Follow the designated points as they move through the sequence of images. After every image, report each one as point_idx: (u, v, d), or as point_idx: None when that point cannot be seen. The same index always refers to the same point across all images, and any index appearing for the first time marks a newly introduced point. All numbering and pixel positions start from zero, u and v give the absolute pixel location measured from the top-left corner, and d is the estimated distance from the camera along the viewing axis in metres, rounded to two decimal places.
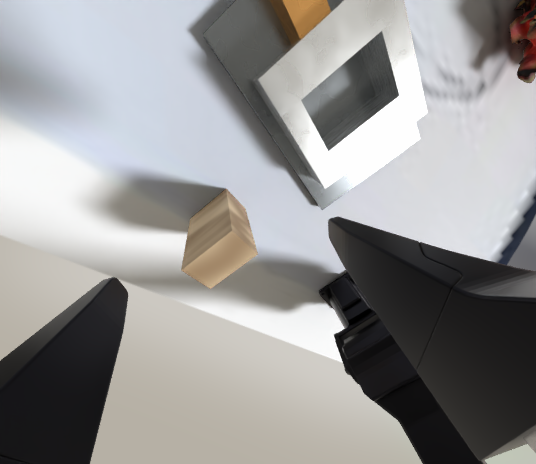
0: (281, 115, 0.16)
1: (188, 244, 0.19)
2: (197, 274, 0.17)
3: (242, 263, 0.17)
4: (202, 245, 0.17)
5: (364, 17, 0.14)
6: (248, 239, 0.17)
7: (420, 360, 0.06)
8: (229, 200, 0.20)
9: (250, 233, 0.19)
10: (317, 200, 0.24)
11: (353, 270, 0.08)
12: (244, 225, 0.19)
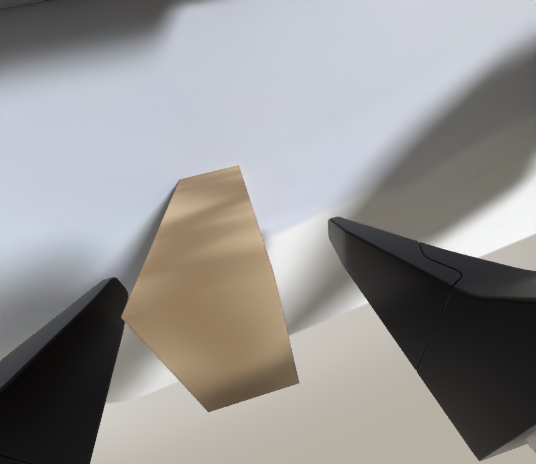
0: None
1: None
2: (240, 395, 0.07)
3: (277, 319, 0.05)
4: None
5: None
6: (226, 253, 0.05)
7: (420, 360, 0.06)
8: (178, 197, 0.09)
9: (244, 216, 0.07)
10: None
11: (353, 270, 0.08)
12: (219, 215, 0.07)
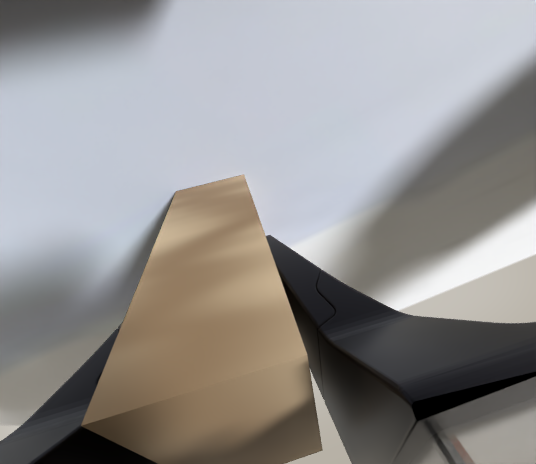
0: None
1: None
2: None
3: (305, 399, 0.04)
4: None
5: None
6: (235, 309, 0.04)
7: (323, 391, 0.06)
8: (173, 215, 0.07)
9: (255, 247, 0.05)
10: None
11: None
12: (224, 243, 0.05)
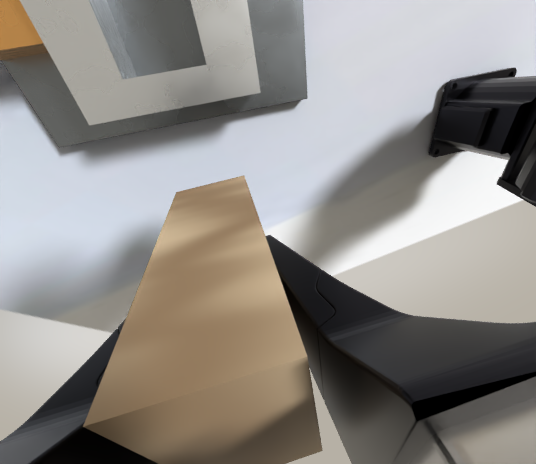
0: (136, 114, 0.13)
1: None
2: None
3: (305, 400, 0.04)
4: None
5: None
6: (235, 310, 0.04)
7: (323, 391, 0.06)
8: (174, 216, 0.07)
9: (255, 248, 0.05)
10: (288, 99, 0.16)
11: None
12: (224, 245, 0.06)
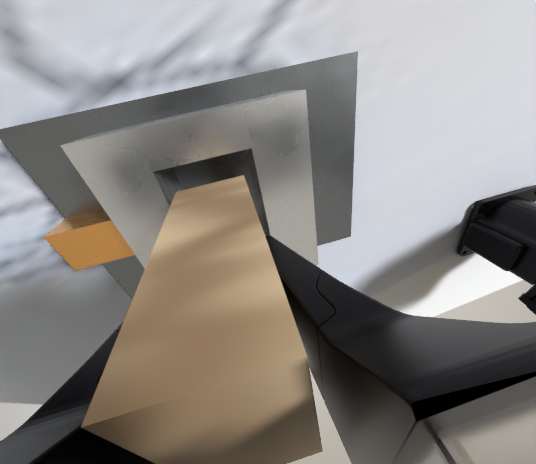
0: None
1: None
2: None
3: (305, 400, 0.04)
4: None
5: (131, 196, 0.10)
6: (234, 310, 0.04)
7: (323, 391, 0.06)
8: (173, 216, 0.07)
9: (255, 248, 0.05)
10: (334, 239, 0.18)
11: None
12: (224, 244, 0.05)
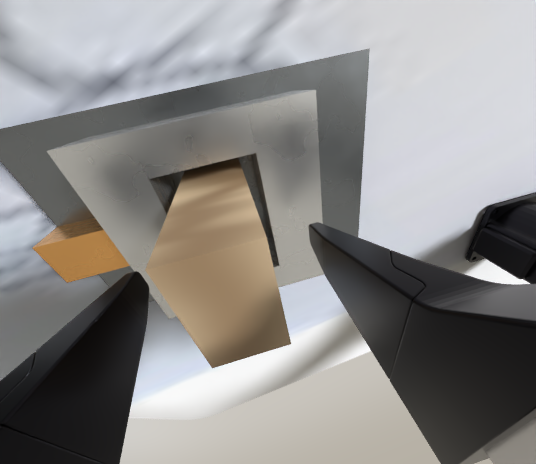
0: None
1: None
2: (239, 352, 0.08)
3: (270, 278, 0.06)
4: None
5: (126, 205, 0.09)
6: (228, 225, 0.06)
7: (392, 369, 0.06)
8: (184, 185, 0.10)
9: (242, 198, 0.08)
10: None
11: (331, 277, 0.08)
12: (222, 197, 0.08)
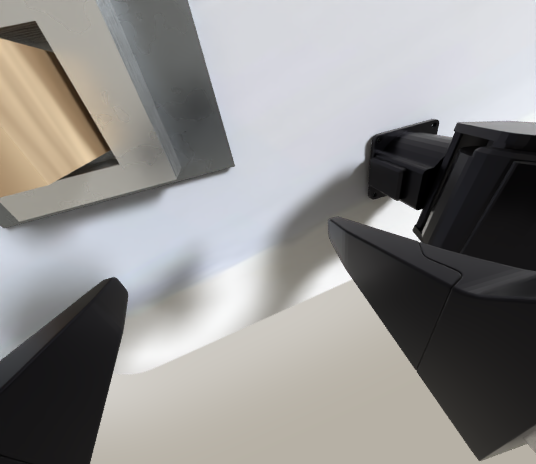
0: (62, 208, 0.14)
1: None
2: None
3: None
4: None
5: None
6: None
7: (420, 360, 0.06)
8: None
9: None
10: (217, 168, 0.18)
11: (353, 270, 0.08)
12: None
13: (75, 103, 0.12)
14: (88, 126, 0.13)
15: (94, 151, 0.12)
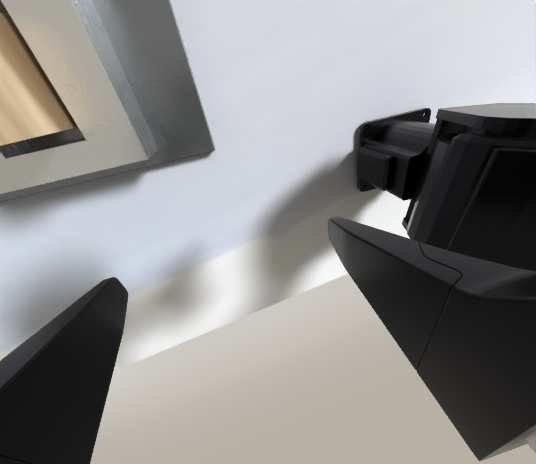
0: (27, 186, 0.13)
1: None
2: None
3: None
4: None
5: None
6: None
7: (420, 360, 0.06)
8: None
9: None
10: (196, 152, 0.17)
11: (353, 270, 0.08)
12: None
13: (37, 72, 0.11)
14: (52, 98, 0.12)
15: (57, 124, 0.12)
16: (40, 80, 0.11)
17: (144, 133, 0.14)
